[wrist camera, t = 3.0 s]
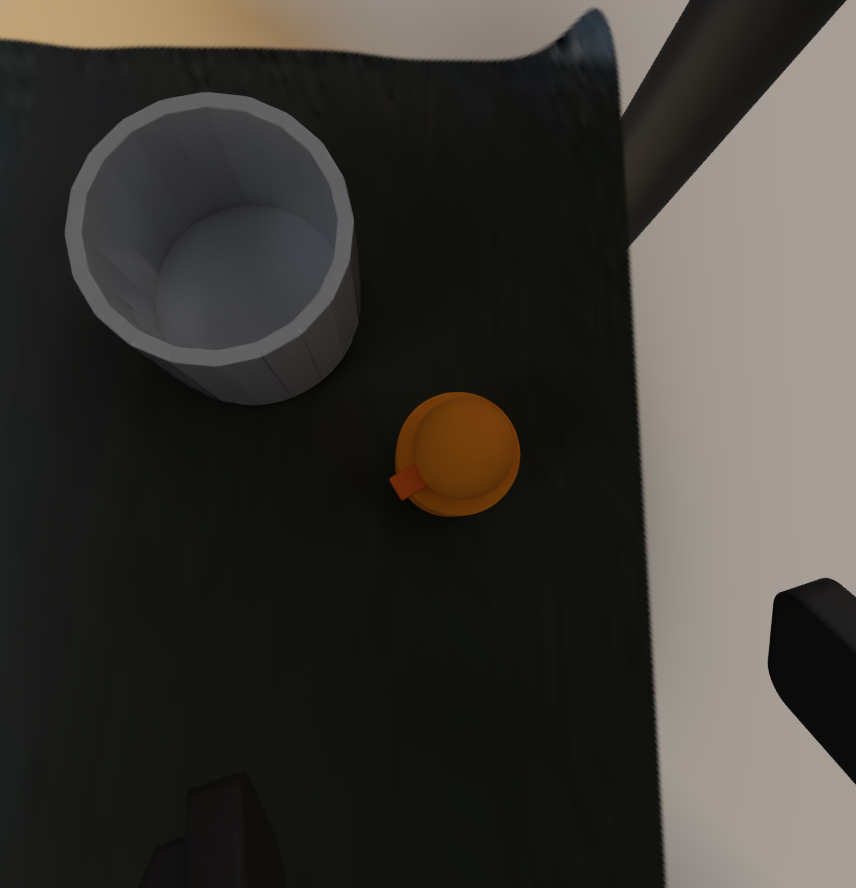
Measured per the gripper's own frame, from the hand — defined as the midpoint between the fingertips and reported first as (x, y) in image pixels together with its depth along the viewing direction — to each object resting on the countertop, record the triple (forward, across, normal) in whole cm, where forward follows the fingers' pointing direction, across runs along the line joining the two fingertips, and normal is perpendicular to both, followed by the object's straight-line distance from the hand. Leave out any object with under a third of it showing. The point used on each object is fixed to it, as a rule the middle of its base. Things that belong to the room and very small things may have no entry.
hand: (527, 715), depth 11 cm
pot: (+29, +3, +2) cm, 29 cm away
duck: (+23, -4, +10) cm, 25 cm away
